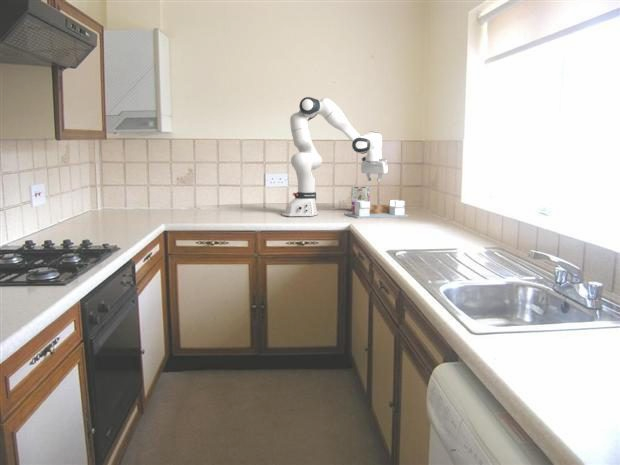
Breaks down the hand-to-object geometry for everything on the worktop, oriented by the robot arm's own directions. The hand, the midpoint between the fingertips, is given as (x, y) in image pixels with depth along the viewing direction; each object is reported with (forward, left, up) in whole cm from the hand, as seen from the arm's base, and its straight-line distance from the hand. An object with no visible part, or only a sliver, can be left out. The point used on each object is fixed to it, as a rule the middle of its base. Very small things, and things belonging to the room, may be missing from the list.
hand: (373, 181), depth 331 cm
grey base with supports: (0, -4, -21) cm, 21 cm away
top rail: (0, 0, -20) cm, 20 cm away
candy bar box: (0, +19, -21) cm, 29 cm away
